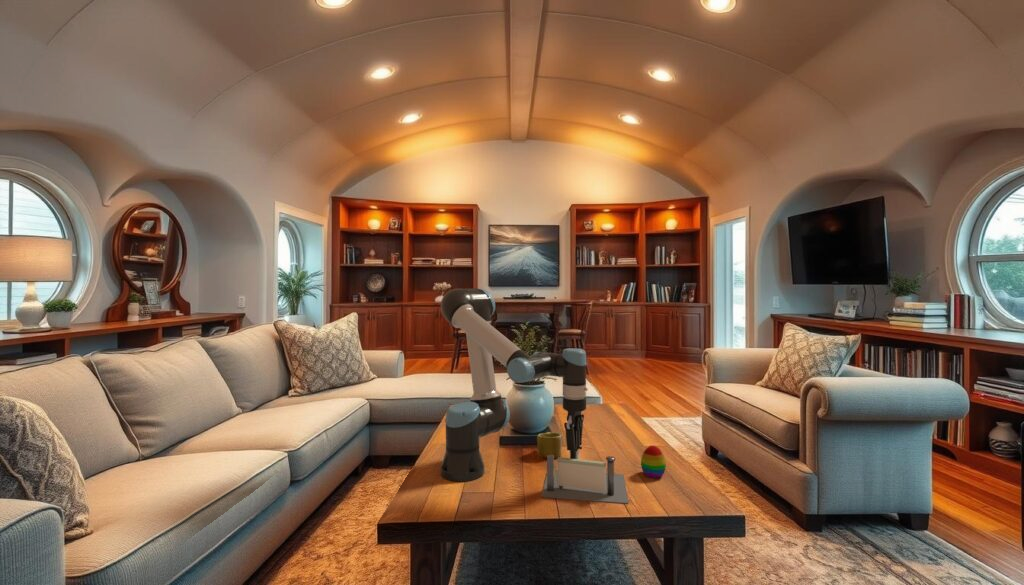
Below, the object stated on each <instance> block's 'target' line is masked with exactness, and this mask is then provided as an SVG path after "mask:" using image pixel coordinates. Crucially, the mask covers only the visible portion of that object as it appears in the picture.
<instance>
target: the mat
mask: <svg viewBox="0 0 1024 585" xmlns="http://www.w3.org/2000/svg"><path fill="white" fill-rule="evenodd" d="M625 479H626V478H625V473H614V495H613V496H609V495H607V472H606V490H605V492H604V491H596V490H588V489H580V488H572V487H564V486H563V488H560V487H559V486H557V469H556V475H555V476H554V491H547V475H545V480H544V485H543V488H542V493H541V494H540V495H541V496H540V498H546V499H559V500H570V501H571V500H574V501H575V500H576V501H584V502H585V501H587V502H599V503H608V504H609V503H613V504H625V505H629V499H628V498H629V497H628V491H627V486H626V480H625Z"/></svg>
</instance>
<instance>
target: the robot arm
mask: <svg viewBox="0 0 1024 585" xmlns="http://www.w3.org/2000/svg"><path fill="white" fill-rule="evenodd" d="M440 310H441V315H442V316H443V317H444V319H445V320H446V321H447V322H448V323H449V324H450V325H451V326H453V328H455V329H461V330H462V331H463V332H464V333H465V336H466V344H467V351H468V359H469V368H470V374H471V383H472V391H473V394H472V396H471V397H470V399H469V401H464V402H457V403H455V404H452V405H450V406H449V407H447V409H446V411H445V418H444V419H445V453H444V456H443V459H442V462H441V465H440V476H441V477H442V478H443V479H445V480H447V481H452V482H469V481H473V480H478V479H479V478H481V477H483V476H484V474H485V464H484V460H483V457H482V454H481V451H480V438H483V437H485V436H488V435H491V434H494V433H498V432H499V431H500V430H503V429H504V428H505V427H506V426H507V424H509V421H510V417H511V413H510V411H511V410H510V408H509V405H508V403H506V401H505V400H504V399H502V393H501V392H499V391H498V390H497V384H496V376H495V371H494V370H495V369H494V368H495V367H494V362H493V361H494V360H493V358H494V359H496V360H497V361H498V362H500V364H501V365H503V366H504V367H505V368H506V372H507V375H508V378H509V379H510V380H511V381H512V382H514V383H518V384H519V383H526V382H527V383H528V382H530V381H534V380H536V379H537V380H538V379H542V378H546V377H549V376H550V377H558V378H562V396H563V397H562V409H563V410H564V411H566V412H567V415H566V421H567V422H564V423H563V425H564V430H565V440H566V450H567V451H569V458H571V459H580V450H582V449H583V447H582V443H583V442H582V441H583V429H584V419H585V414H583V413H582V412H584V411H585V410H586V409H587V398H586V396H587V391H588V390H589V388H588V387H587V355H586V353H587V352H586V351H585V349H583V348H576V347H575V348H565V349H563V350H562V353H555V352H554V353H553V352H546V351H535V352H533V353H532V354H531V355H529V354H527V353H526V352H525V351H524V350H522V349H521V348H520V347H519V346H517V345H516V344H515V343H513V341H511V340H510V339H509V338H507V337H506V336H505V335H504V334H502V333H501V332H500V331H499V330H497V329H496V328H495V327H494V326H493V325H492V316H493V315H494V312H495V311H496V301H495V299H494V297H493V295H492V294H491V293H490V292H489V291H488V290H486V289H484V288H483V289H482V288H453V289H450V290H449V291H447V292H445V294H443V297H442V298H441V300H440Z"/></svg>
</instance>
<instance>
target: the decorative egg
mask: <svg viewBox="0 0 1024 585" xmlns="http://www.w3.org/2000/svg"><path fill="white" fill-rule="evenodd" d="M640 458H641V460H640V467H641V470H642V472H643V474H644V475H645V476H646V477H649V478H652V479H659V478H662V476H663V475H664V474H665V471H666V468H667V465H666V463H667V462H666V459H665V458H666V457H665V455H664V453H663V451H662V450H661V449H660V448H659V447H657V446H656V445H649V446H648V447H646V448H645V450H644V451H643V452H642V455H641V457H640Z"/></svg>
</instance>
